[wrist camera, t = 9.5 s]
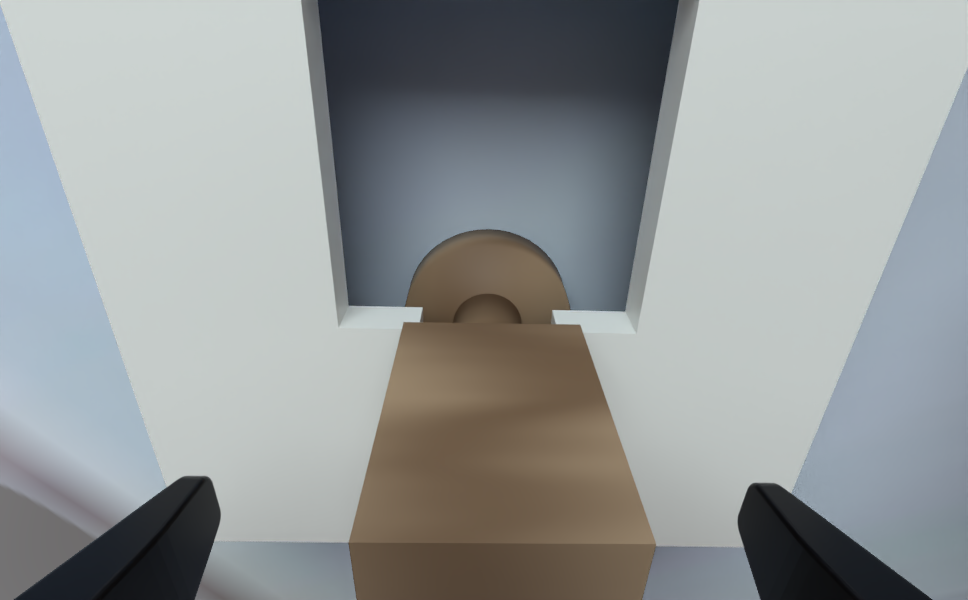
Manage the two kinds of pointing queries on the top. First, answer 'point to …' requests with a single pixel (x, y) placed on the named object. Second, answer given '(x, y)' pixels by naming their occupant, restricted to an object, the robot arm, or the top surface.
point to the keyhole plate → (376, 329)
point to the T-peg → (496, 445)
